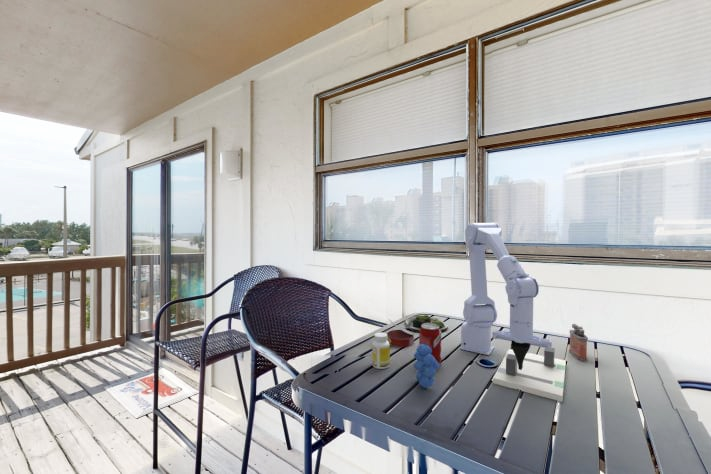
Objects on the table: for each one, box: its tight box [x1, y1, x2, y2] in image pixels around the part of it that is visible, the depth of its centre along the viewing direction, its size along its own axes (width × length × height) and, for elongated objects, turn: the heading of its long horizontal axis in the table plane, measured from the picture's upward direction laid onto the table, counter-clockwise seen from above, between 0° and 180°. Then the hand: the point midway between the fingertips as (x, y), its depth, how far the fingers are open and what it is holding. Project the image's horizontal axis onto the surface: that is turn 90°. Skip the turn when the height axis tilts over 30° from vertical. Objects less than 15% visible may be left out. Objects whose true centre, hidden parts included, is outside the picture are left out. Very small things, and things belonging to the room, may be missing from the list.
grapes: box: [413, 344, 441, 389], centre depth 85 cm, size 12×7×12 cm, turn 8°
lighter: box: [568, 323, 589, 363], centre depth 104 cm, size 8×3×10 cm, turn 168°
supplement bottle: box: [371, 331, 391, 370], centre depth 98 cm, size 5×5×10 cm
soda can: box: [418, 322, 442, 365], centre depth 99 cm, size 7×7×12 cm
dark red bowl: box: [386, 318, 415, 348], centre depth 118 cm, size 11×10×10 cm
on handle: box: [543, 347, 556, 367], centre depth 95 cm, size 2×4×4 cm, turn 145°
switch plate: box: [492, 348, 567, 403], centre depth 92 cm, size 16×24×2 cm, turn 145°
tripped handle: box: [506, 354, 518, 376], centre depth 90 cm, size 2×4×4 cm, turn 145°
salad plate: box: [405, 313, 449, 333], centre depth 136 cm, size 19×18×5 cm
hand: (520, 368), depth 89 cm, fingers closed
